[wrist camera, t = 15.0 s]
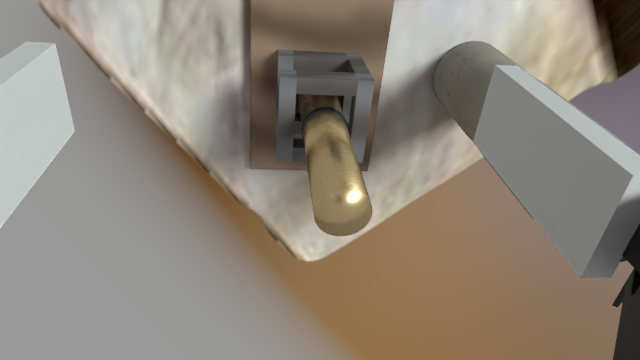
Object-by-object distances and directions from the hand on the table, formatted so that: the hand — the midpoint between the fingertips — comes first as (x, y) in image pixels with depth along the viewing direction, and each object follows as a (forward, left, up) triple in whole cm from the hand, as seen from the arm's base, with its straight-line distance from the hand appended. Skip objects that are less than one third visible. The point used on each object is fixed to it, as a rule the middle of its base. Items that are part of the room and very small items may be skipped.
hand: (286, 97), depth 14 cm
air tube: (+13, +5, -34) cm, 36 cm away
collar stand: (+13, +5, -35) cm, 37 cm away
